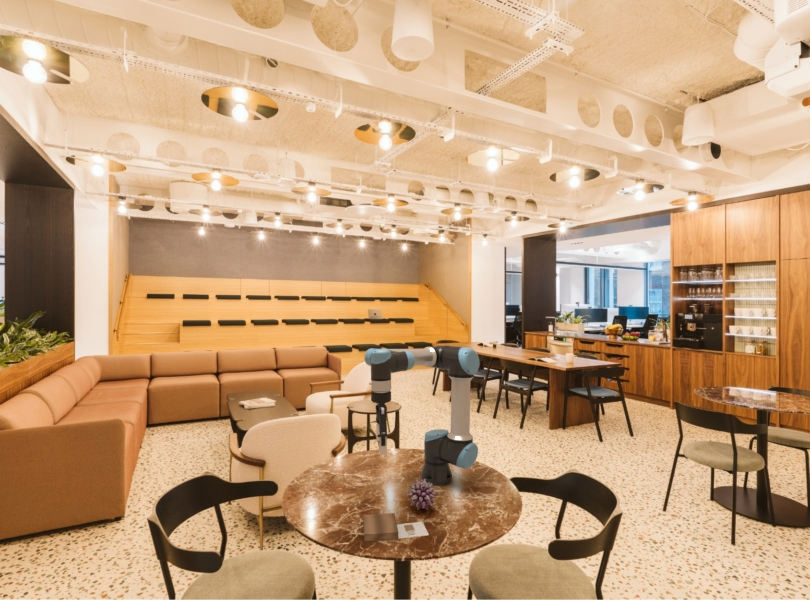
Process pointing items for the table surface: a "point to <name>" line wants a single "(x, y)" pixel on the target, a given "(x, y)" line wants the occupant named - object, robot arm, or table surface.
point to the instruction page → (411, 530)
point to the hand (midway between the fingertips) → (381, 447)
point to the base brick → (380, 527)
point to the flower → (421, 494)
